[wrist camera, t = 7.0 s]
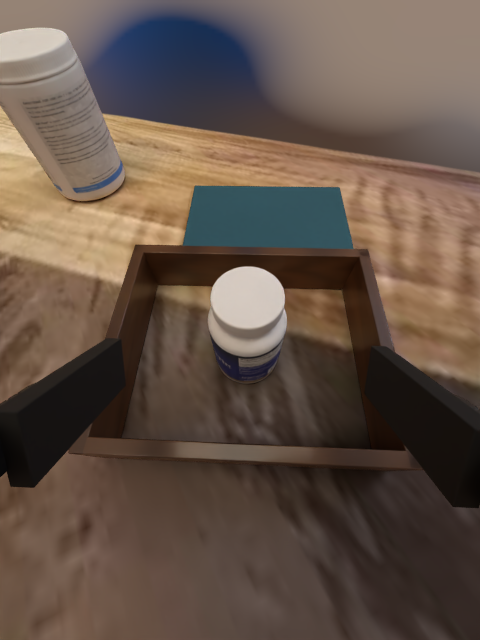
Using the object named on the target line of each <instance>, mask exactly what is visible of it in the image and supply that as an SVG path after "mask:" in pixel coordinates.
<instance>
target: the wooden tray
mask: <svg viewBox="0 0 480 640" xmlns="http://www.w3.org/2000/svg"><path fill="white" fill-rule="evenodd" d="M238 267H257V268H261V269H264V270H266V271H268V272H269V273H271V274H272V275H274V276H275V277H276V278H277V279H278V280H279V282H280V283H281V285H282V287H283V288H315V289H342V290H343V296H344V301H345V307H346V312H347V318H348V323H349V329H350V334H351V340H352V345H353V351H354V356H355V362H356V367H357V373H358V378H359V383H360V389H361V394H362V400H363V405H364V411H365V416H366V422H367V427H368V433H369V438H370V444H371V449H351V448H328V447H306V446H283V445H261V444H238V443H215V442H193V441H170V440H147V439H125V438H121V435H122V431H123V427H124V423H125V419H126V415H127V410H128V406H129V402H130V398H131V394H132V390H133V386H134V381H135V377H136V373H137V369H138V365H139V361H140V357H141V352H142V348H143V344H144V340H145V336H146V332H147V328H148V324H149V319H150V315H151V311H152V307H153V303H154V299H155V295H156V290H157V286H158V285H193V286H213V285H214V284H215V282H216V281H217V279H218V278H219V277H220V276H222V275H223V274H224V273H226V272H227V271H230V270H232V269H234V268H238ZM106 338H120V339H121V341H122V351H123V361H124V371H125V380H126V386H125V387H124V388H123V389H122V390H121V391H120V393H119V394H118V395H117V396H116V397H115V398H114V399H113V400H112V401H111V403H110V404H109V405H108V406H107V407H106V408H105V409H104V410H103V411H102V413H101V414H100V415H99V416H98V417H97V418H96V419H95V420H94V421H93V423H92V424H91V425H90V426H89V427H88V428H87V429H86V430H85V431H84V433H83V434H82V435H81V436H80V437H79V438H78V439H77V440H76V441H75V443H74V444H73V445H72V446H71V447H70V448H69V452H68V453H69V454H77V455H86V456H94V457H102V458H121V459H142V460H164V461H185V462H206V463H228V464H249V465H270V466H292V467H313V468H335V469H356V470H377V471H406V470H424V469H423V468H422V467H421V466H420V464H419V463H418V462H417V460H416V459H415V458H414V457H413V455H412V454H411V453H410V452H409V450H408V449H407V448H406V446H405V445H404V444H403V443H402V441H401V440H400V439H399V438H398V436H397V435H396V434H395V432H394V431H393V430H392V429H391V427H390V426H389V425H388V423H387V422H386V421H385V420H384V418H383V417H382V416H381V415H380V413H379V412H378V411H377V409H376V408H375V407H374V406H373V404H372V403H371V402H370V400H369V399H368V398H367V397H366V395H365V394H364V390H365V384H366V377H367V371H368V364H369V358H370V351H371V346H387V347H388V348H389V349H391V350H392V351H394V352H395V350H394V346H393V343H392V339H391V335H390V331H389V327H388V324H387V320H386V316H385V312H384V309H383V305H382V301H381V297H380V294H379V290H378V286H377V282H376V278H375V275H374V271H373V267H372V263H371V260H370V255H369V252H368V249H328V248H277V247H227V246H176V245H135V248H134V251H133V254H132V257H131V260H130V263H129V266H128V269H127V272H126V275H125V279H124V282H123V285H122V288H121V291H120V294H119V297H118V300H117V303H116V306H115V309H114V313H113V316H112V319H111V322H110V325H109V328H108V331H107V334H106V337H105V339H106Z"/></svg>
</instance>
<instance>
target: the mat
mask: <svg viewBox="0 0 480 640" xmlns="http://www.w3.org/2000/svg"><path fill="white" fill-rule="evenodd" d="M183 246H227V247H277V248H328V249H353V244H352V240H351V235H350V231H349V227H348V222H347V218H346V214H345V209H344V205H343V201H342V196H341V192H340V188H339V187H260V186H195V188H194V193H193V198H192V202H191V207H190V212H189V217H188V222H187V227H186V232H185V237H184V242H183Z"/></svg>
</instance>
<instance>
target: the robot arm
mask: <svg viewBox="0 0 480 640" xmlns="http://www.w3.org/2000/svg"><path fill="white" fill-rule="evenodd" d="M125 386H126V380H125V371H124V361H123V351H122V341H121V339H120V338H106V339H105V340H103V341H102V342H100V343H99V344H97V345H95V346H94V347H92V348H91V349H89V350H88V351H86V352H84V353H83V354H81V355H80V356H78V357H76V358H75V359H73V360H72V361H70V362H69V363H67V364H65V365H64V366H62V367H61V368H59V369H58V370H56V371H54V372H53V373H51V374H50V375H48V376H47V377H45V378H43V379H42V380H40V381H39V382H37V383H35V384H32V385H30V386H28V387H26V388H25V389H23V390H21V391H20V392H18V394H15V395H13V396H12V397H10V398H9V399H8V400H5V401H4V402H2V403H1V404H0V477H1V476H2V475H3V474H4V473H5V472H6V471H7V474H8V478H9V482H10V486H11V487H30V488H34V487H35V486H36V485H37V484H38V483H39V481H40V480H41V479H42V478H43V477H44V476H45V475H46V474H47V473H48V471H49V470H50V469H51V468H52V467H53V466H54V465H55V464H56V463H57V461H58V460H59V459H60V458H61V457H62V456H63V455H64V454H65V453H66V451H67V450H68V449H69V448H70V447H71V446H72V445H73V444H74V443H75V441H76V440H77V439H78V438H79V437H80V436H81V435H82V434H83V433H84V431H85V430H86V429H87V428H88V427H89V426H90V425H91V424H92V423H93V421H94V420H95V419H96V418H97V417H98V416H99V415H100V414H101V413H102V411H103V410H104V409H105V408H106V407H107V406H108V405H109V404H110V403H111V401H112V400H113V399H114V398H115V397H116V396H117V395H118V394H119V393H120V391H121V390H122V389H123V388H124V387H125ZM364 394H365V395H366V397H367V398H368V399H369V400H370V402H371V403H372V404H373V406H374V407H375V408H376V409H377V411H378V412H379V413H380V415H381V416H382V417H383V418H384V420H385V421H386V422H387V423H388V425H389V426H390V427H391V429H392V430H393V431H394V432H395V434H396V435H397V436H398V438H399V439H400V440H401V441H402V443H403V444H404V445H405V446H406V448H407V449H408V450H409V452H410V453H411V454H412V455H413V457H414V458H415V459H416V460H417V462H418V463H419V464H420V466H421V467H422V468H423V469H424V471H425V472H426V473H427V475H428V476H429V477H430V478H431V480H432V481H433V482H434V483H435V485H436V486H437V487H438V489H439V490H440V491H441V492H442V494H443V495H444V496H445V498H446V499H447V500H448V501H449V503H450V504H451V505H452V506H453V507H466V508H479V505H480V410H478V408H477V407H476V406H474V405H473V404H471V403H470V402H469V401H467V400H465V399H463V398H461V397H459V396H457V395H455V394H453V393H450V392H449V391H448V390H446V389H445V388H444V387H442V386H441V385H439V384H438V383H437V382H435V381H434V380H432V379H431V378H430V377H428V376H427V375H426V374H424V373H423V372H421V371H420V370H419V369H417V368H416V367H414V366H413V365H412V364H410V363H409V362H407V361H406V360H405V359H403V358H402V357H401V356H399V355H398V354H396V353H395V352H394V351H392V350H391V349H389V348H388V347H387V346H371V351H370V358H369V364H368V371H367V377H366V384H365V390H364Z"/></svg>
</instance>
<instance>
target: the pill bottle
mask: <svg viewBox="0 0 480 640" xmlns="http://www.w3.org/2000/svg"><path fill="white" fill-rule="evenodd" d="M210 302H211V308H210V311H209V315H208V328H209V332H210V336H211V340H212V344H213V347H214V351H215V356H216V360H217V363H218V365H219V368H220V369H221V371H222V372H223V373H224V374H225V375H226V376H227V377H228V378H230V379H231V380H233V381H236V382H239V383H245V384H249V383H255V382H258V381H261V380H263V379H264V378H266V377H267V376H268V375H269V374H270V373H271V372H272V371H273V369H274V368H275V366H276V363H277V360H278V357H279V353H280V350H281V346H282V342H283V339H284V335H285V332H286V327H287V316H286V312H285V309H284V304H285V293H284V289H283V287H282V285H281V283H280V282H279V280H278V279H277V278H276V277H275V276H274V275H272V274H271V273H269V272H268V271H266V270H264V269H261V268H257V267H238V268H234V269H232V270H230V271H227V272H226V273H224V274H223V275H222V276H220V277H219V278H218V279H217V281H216V282H215V284H214V285H213V288H212V290H211V295H210Z"/></svg>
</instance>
